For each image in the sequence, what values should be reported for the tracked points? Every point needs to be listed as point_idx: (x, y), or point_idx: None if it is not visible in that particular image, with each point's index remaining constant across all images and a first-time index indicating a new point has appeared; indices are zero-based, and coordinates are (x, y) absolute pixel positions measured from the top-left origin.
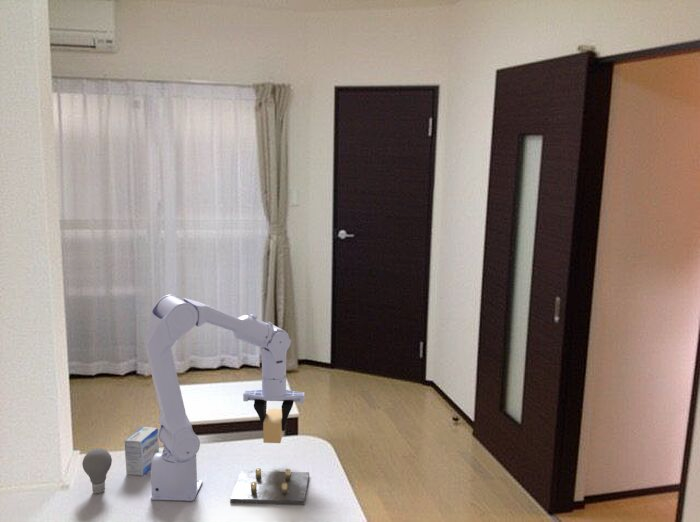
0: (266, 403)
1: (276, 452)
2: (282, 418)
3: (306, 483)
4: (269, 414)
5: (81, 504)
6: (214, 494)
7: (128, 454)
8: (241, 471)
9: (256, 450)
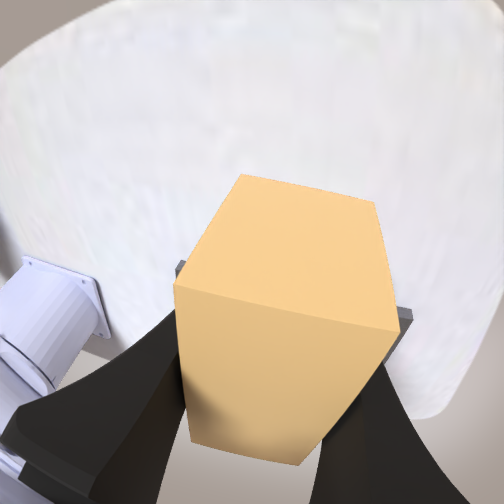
0: (130, 439)
1: (315, 104)
2: (322, 451)
3: (383, 362)
4: (211, 387)
5: None
6: (141, 326)
7: None
8: (178, 274)
9: (212, 75)
